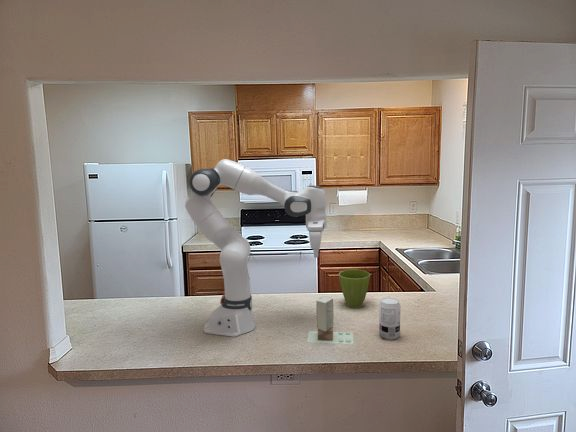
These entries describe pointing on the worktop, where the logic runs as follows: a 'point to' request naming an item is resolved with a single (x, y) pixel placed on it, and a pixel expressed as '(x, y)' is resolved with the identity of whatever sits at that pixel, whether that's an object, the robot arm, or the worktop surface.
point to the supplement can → (389, 318)
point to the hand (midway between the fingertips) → (316, 254)
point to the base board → (337, 337)
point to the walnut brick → (325, 334)
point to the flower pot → (354, 286)
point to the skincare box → (324, 313)
